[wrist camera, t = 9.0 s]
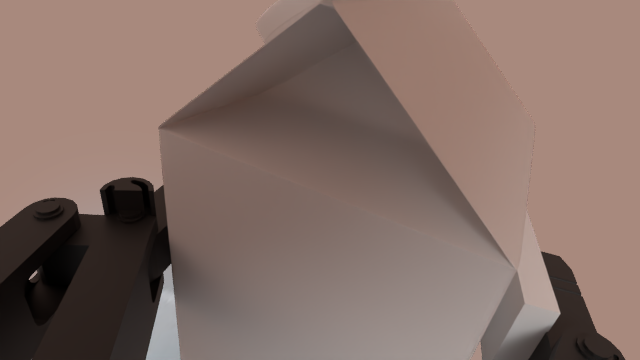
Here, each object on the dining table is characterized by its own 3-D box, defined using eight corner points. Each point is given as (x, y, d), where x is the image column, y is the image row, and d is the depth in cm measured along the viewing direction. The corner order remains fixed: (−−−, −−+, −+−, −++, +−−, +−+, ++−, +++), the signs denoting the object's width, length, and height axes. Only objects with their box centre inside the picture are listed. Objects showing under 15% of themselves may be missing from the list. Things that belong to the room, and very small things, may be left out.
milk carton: (410, 411, 19) (607, -38, 9) (350, 594, 13) (693, -56, 4) (284, 340, 21) (333, -73, 12) (189, 470, 16) (128, -117, 6)
